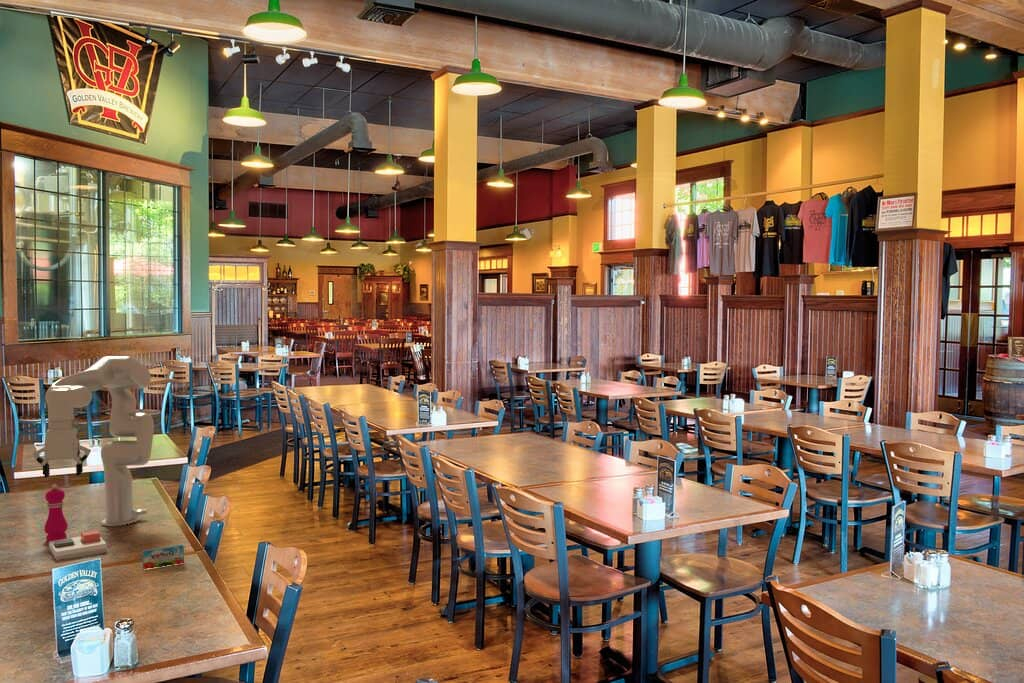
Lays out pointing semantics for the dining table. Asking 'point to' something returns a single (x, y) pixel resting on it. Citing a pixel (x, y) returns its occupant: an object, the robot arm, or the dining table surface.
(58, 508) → the pepper mill
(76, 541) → the switch panel
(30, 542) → the dining table surface
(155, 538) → the dining table surface
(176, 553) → the blue printed product box
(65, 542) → the button black
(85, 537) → the button red
